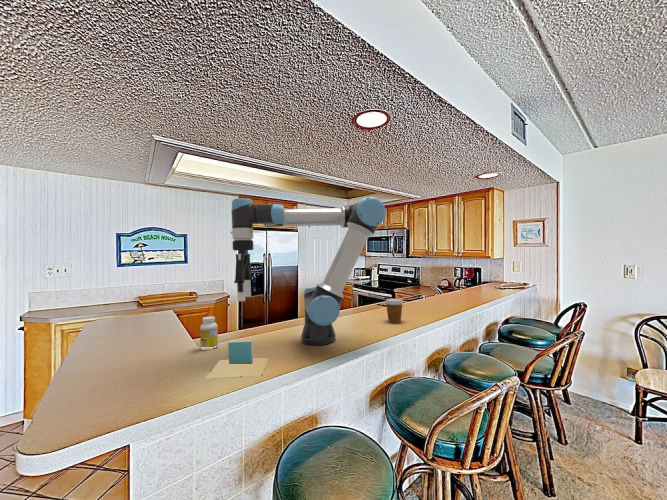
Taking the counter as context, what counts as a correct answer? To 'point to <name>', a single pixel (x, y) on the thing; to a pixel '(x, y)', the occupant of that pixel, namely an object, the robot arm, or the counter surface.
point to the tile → (240, 352)
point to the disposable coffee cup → (394, 310)
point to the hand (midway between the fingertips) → (244, 298)
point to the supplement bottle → (209, 332)
